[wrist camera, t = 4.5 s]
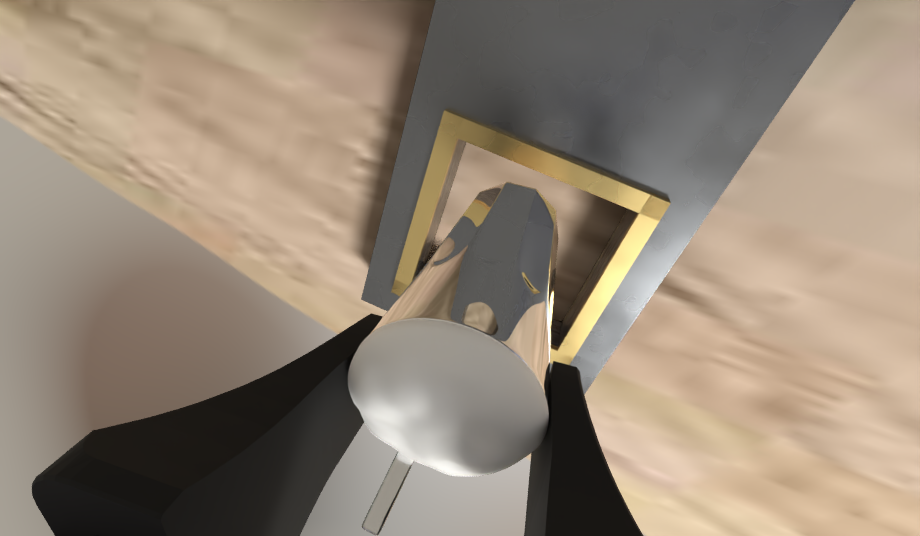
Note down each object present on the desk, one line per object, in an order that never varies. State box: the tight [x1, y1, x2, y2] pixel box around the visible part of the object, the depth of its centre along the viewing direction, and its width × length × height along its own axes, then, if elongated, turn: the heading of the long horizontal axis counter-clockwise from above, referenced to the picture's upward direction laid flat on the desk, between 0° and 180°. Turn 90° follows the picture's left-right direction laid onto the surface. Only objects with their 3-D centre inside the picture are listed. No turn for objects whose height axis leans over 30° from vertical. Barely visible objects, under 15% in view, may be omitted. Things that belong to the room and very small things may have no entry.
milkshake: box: [348, 182, 558, 536], centre depth 13 cm, size 5×5×10 cm
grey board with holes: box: [361, 0, 855, 394], centre depth 17 cm, size 12×26×2 cm, turn 162°
